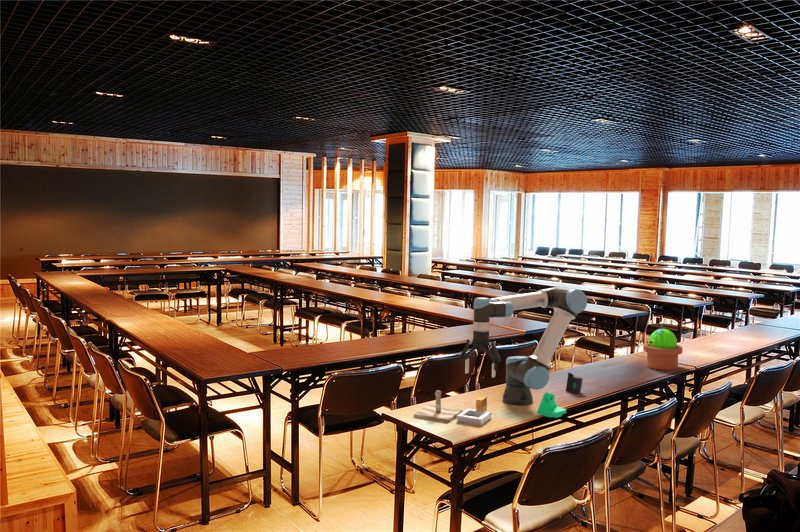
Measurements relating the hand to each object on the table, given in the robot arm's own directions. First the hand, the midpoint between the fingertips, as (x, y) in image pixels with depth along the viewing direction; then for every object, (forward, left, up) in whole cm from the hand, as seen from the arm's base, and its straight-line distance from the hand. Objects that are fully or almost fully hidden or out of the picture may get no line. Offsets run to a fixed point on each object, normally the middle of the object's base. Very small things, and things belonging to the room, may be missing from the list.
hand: (480, 374), depth 278 cm
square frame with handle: (+5, 0, -19) cm, 20 cm away
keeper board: (+9, -18, -19) cm, 28 cm away
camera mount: (-16, +30, -20) cm, 39 cm away
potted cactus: (-141, +65, -20) cm, 157 cm away
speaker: (-60, +30, -20) cm, 70 cm away
